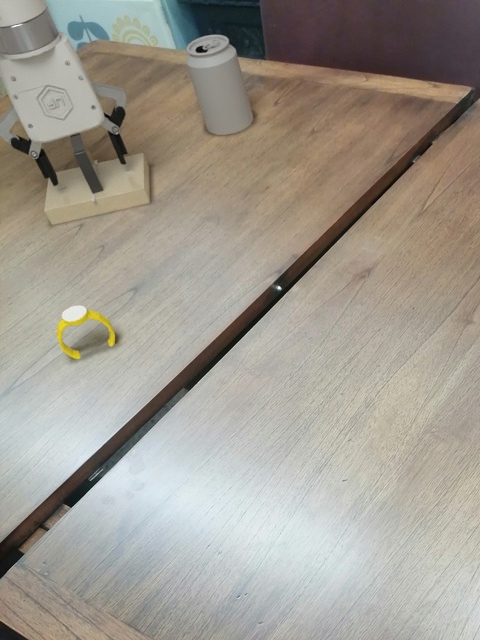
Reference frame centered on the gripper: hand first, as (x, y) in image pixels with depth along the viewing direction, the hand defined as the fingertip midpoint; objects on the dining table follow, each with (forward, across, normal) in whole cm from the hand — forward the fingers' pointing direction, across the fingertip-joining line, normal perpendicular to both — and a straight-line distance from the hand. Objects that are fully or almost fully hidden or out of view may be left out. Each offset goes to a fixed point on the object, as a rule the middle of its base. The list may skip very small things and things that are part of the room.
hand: (89, 170), depth 97 cm
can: (+5, +22, +9) cm, 24 cm away
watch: (+5, -6, -34) cm, 34 cm away
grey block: (+1, 0, 0) cm, 1 cm away
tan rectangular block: (+4, 0, 0) cm, 5 cm away
